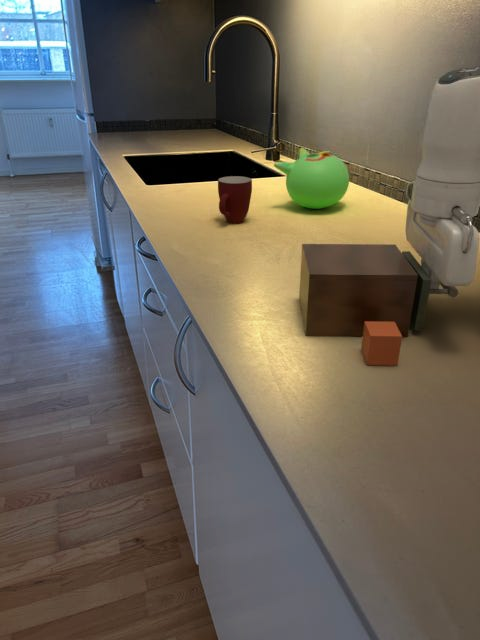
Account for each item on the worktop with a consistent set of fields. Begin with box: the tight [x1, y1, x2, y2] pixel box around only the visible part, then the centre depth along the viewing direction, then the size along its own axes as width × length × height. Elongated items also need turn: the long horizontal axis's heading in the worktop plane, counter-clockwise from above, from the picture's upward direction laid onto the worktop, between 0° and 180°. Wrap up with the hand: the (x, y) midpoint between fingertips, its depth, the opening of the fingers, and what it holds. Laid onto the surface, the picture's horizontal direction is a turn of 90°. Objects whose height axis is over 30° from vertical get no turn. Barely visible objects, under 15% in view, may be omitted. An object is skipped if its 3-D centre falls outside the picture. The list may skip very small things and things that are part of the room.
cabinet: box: [298, 243, 418, 338], centre depth 77 cm, size 15×13×10 cm
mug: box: [217, 175, 253, 224], centre depth 122 cm, size 10×8×10 cm
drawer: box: [401, 250, 459, 331], centre depth 77 cm, size 18×11×8 cm, turn 88°
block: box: [360, 321, 403, 366], centre depth 67 cm, size 4×4×4 cm
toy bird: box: [273, 147, 350, 210], centre depth 133 cm, size 18×17×15 cm
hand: (428, 290), depth 77 cm, fingers closed
